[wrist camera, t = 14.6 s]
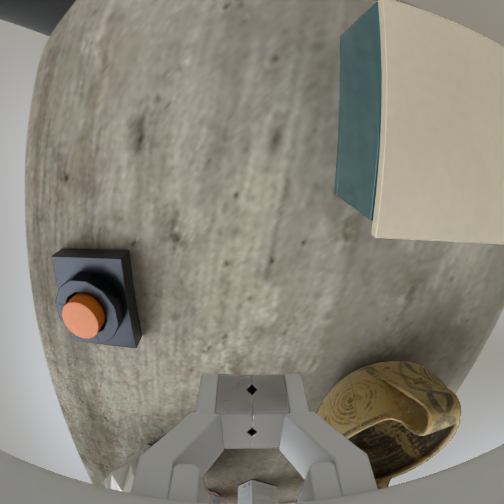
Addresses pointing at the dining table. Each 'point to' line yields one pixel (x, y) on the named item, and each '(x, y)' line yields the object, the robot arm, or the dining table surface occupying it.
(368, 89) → the teal hollow open box
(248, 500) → the cosmetic box
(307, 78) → the dining table surface
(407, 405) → the ceramic bowl
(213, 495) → the pill bottle
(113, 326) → the push button housing
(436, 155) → the beige flat rectangular panel
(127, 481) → the vase
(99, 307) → the flush button
